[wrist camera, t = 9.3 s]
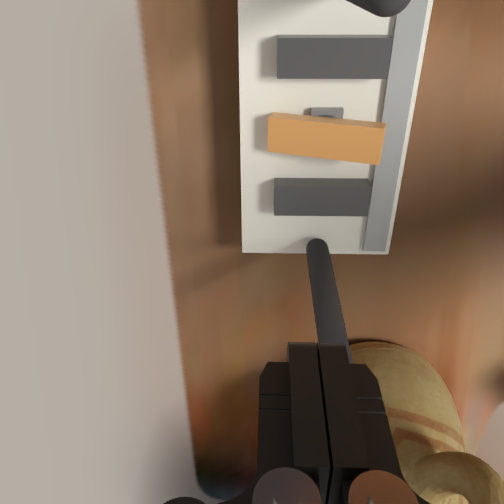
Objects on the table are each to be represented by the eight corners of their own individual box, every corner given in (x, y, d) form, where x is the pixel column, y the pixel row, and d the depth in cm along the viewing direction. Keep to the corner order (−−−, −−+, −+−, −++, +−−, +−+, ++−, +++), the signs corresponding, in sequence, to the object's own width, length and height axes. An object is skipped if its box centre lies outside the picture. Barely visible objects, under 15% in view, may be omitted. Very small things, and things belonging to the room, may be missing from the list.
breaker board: (239, -44, 28) (235, -44, 24) (425, -45, 28) (449, -46, 24) (243, 233, 38) (241, 262, 34) (380, 234, 38) (392, 264, 34)
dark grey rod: (305, 233, 34) (325, 372, 23) (327, 234, 34) (358, 372, 23) (304, 252, 35) (322, 395, 24) (326, 252, 35) (354, 395, 24)
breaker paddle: (276, 110, 30) (267, 117, 29) (387, 120, 28) (384, 128, 27) (275, 143, 31) (267, 151, 30) (382, 155, 29) (378, 165, 28)
